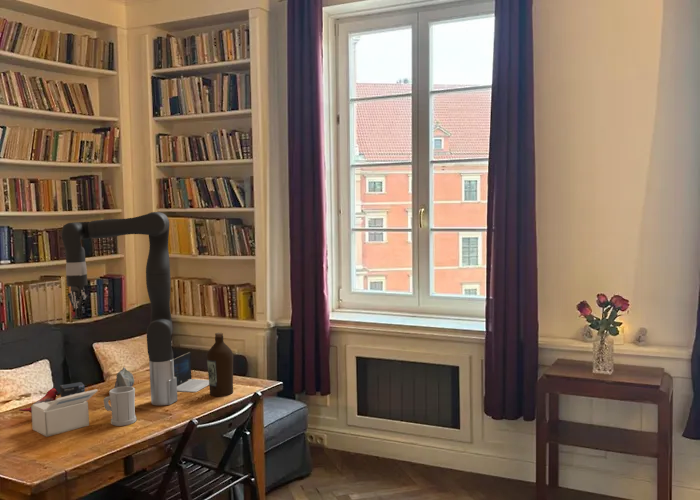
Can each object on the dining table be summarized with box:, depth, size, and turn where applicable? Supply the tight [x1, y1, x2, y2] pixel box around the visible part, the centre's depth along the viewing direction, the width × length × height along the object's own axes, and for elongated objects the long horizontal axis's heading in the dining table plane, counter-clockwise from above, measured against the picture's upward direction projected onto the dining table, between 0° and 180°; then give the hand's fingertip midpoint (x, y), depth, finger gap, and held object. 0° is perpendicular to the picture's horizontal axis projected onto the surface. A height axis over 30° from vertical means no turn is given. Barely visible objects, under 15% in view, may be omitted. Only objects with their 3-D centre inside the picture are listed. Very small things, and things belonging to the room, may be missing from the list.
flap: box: [47, 388, 99, 410], centre depth 229 cm, size 1×14×10 cm
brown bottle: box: [206, 332, 234, 397], centre depth 274 cm, size 11×11×25 cm
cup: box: [103, 386, 137, 427], centre depth 240 cm, size 10×9×12 cm
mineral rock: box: [113, 367, 135, 389], centre depth 285 cm, size 13×11×10 cm
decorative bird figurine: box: [18, 387, 59, 413], centre depth 247 cm, size 3×18×10 cm, turn 156°
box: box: [59, 381, 86, 397], centre depth 255 cm, size 8×6×11 cm
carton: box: [30, 399, 90, 438], centre depth 237 cm, size 12×15×9 cm
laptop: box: [173, 351, 209, 393], centre depth 287 cm, size 18×12×13 cm
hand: (79, 317), depth 261 cm, fingers closed
